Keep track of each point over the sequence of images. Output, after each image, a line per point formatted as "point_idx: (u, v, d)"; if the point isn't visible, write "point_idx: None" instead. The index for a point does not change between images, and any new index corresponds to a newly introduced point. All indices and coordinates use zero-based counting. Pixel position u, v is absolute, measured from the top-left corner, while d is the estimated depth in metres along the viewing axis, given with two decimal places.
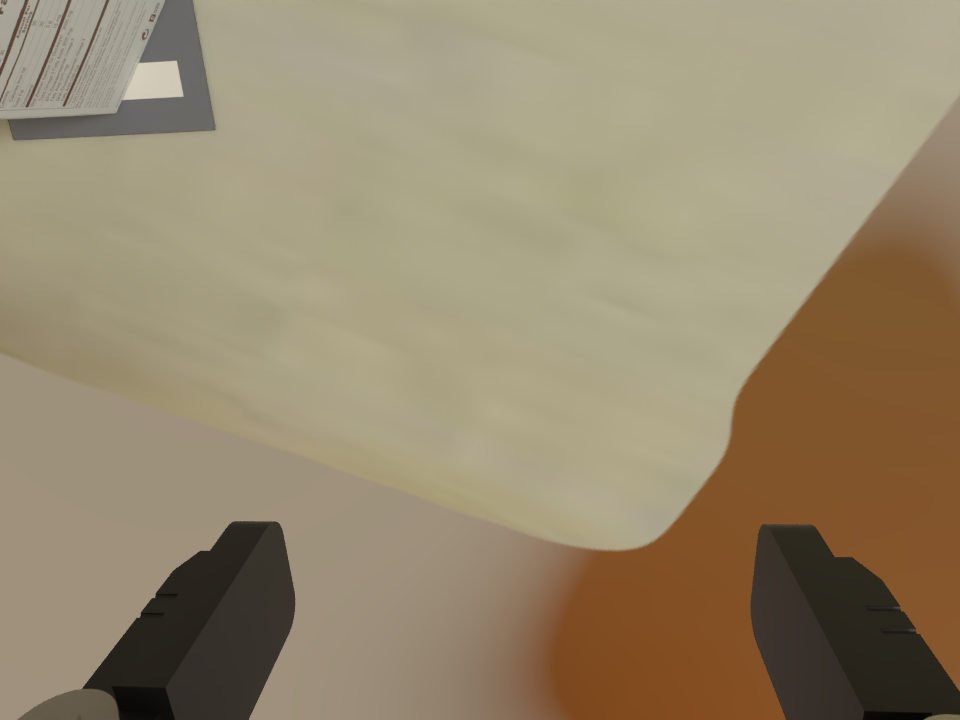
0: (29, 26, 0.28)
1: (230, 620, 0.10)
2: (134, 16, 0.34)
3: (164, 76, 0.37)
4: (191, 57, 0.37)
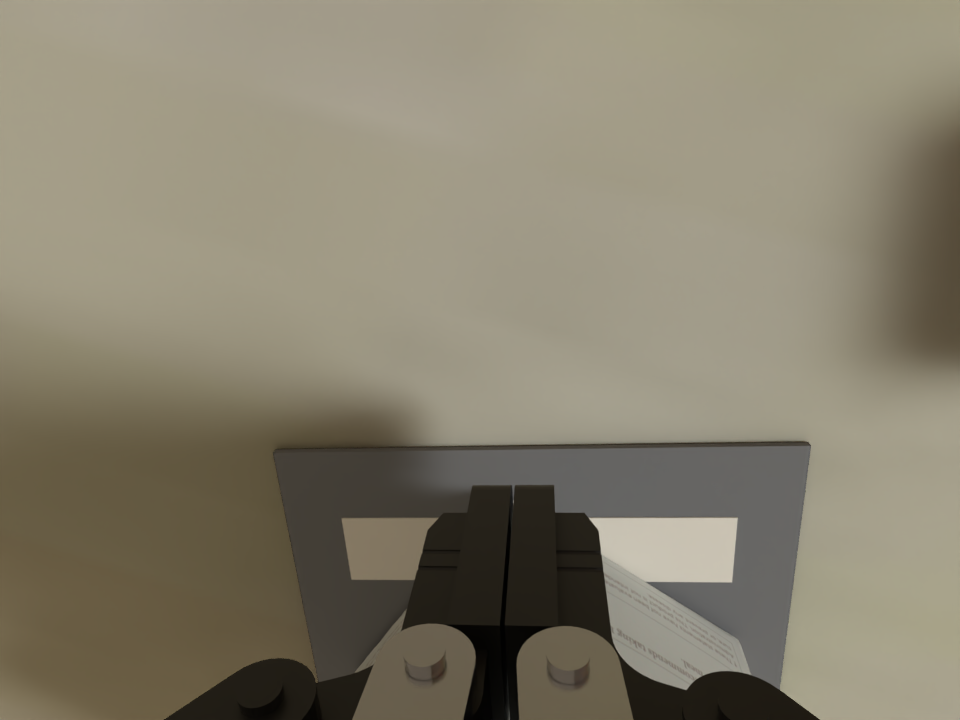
0: None
1: (507, 572, 0.10)
2: None
3: None
4: None
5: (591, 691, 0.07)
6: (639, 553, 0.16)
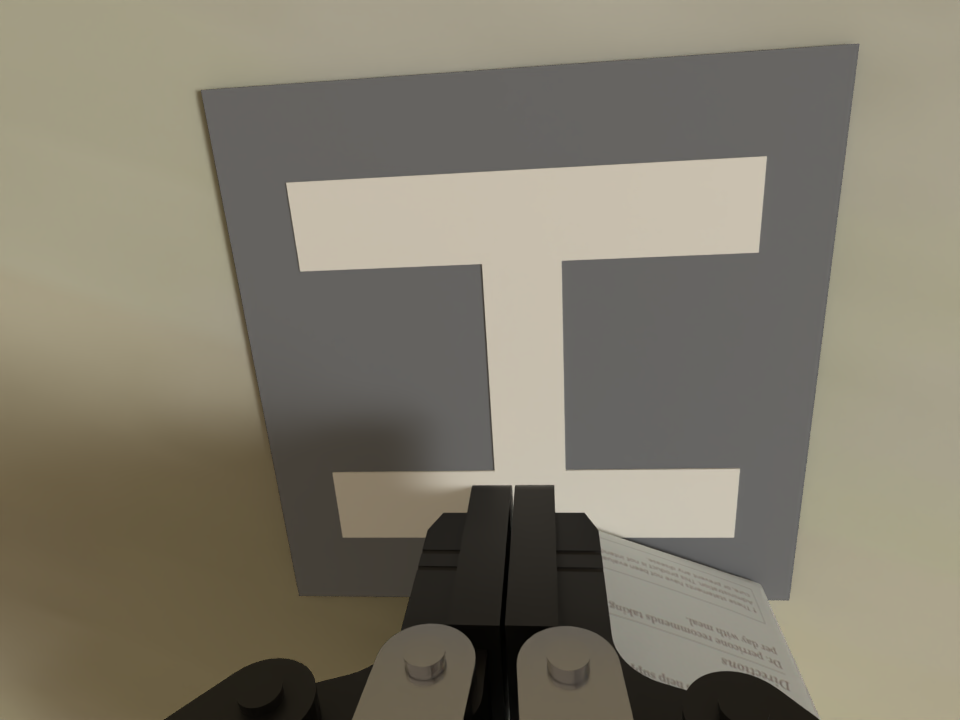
0: None
1: (507, 572, 0.10)
2: None
3: (698, 497, 0.15)
4: (774, 458, 0.15)
5: (591, 691, 0.07)
6: (646, 217, 0.13)
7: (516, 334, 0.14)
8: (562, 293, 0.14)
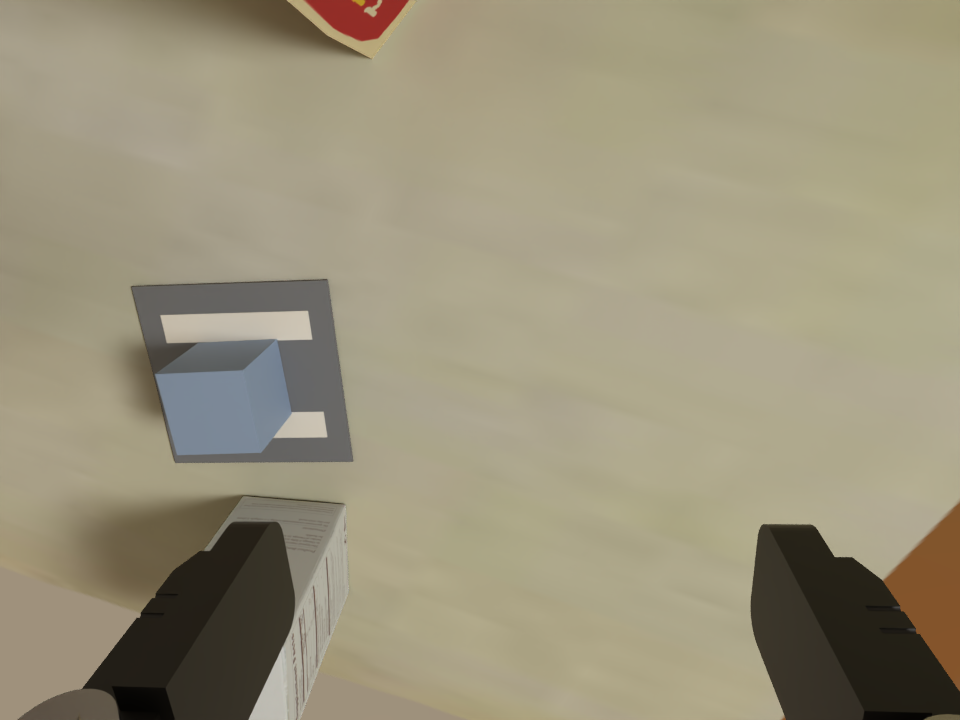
0: (305, 640, 0.37)
1: (229, 621, 0.10)
2: (338, 543, 0.43)
3: (311, 422, 0.43)
4: (336, 408, 0.42)
5: None
6: (275, 327, 0.41)
7: None
8: None
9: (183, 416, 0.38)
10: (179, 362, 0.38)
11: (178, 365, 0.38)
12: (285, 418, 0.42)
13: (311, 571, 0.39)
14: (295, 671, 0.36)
